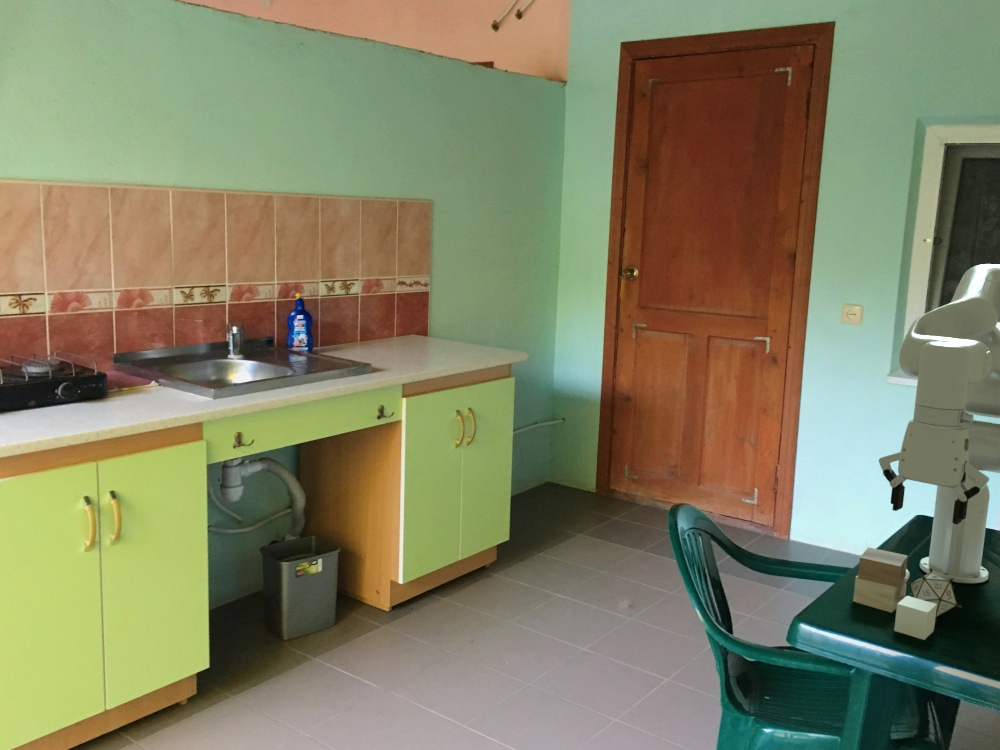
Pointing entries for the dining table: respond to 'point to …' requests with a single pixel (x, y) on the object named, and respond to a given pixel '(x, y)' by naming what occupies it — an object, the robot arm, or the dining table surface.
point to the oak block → (879, 594)
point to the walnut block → (882, 567)
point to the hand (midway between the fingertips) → (926, 515)
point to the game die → (935, 592)
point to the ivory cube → (915, 617)
